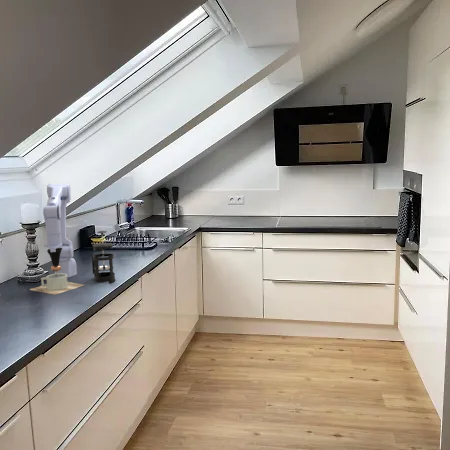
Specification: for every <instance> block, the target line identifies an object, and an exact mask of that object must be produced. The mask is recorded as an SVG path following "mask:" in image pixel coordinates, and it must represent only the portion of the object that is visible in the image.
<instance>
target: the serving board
mask: <svg viewBox="0 0 450 450" xmlns="http://www.w3.org/2000/svg"><path fill="white" fill-rule="evenodd" d="M67 283H68V287H67V288H65V289H61V290H48V289H47V286H46V287H42V285H40V286H38V287H33V288H30V289H29V291H34V292H40V293H43V294H44V293H45V294H48V295H55V296H56V295H58V294H62V293H65V292H68V291H71V290H75V289H77V288H80V287H83V286H85V284H82V283H76V282H71V281H67Z"/></svg>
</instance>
